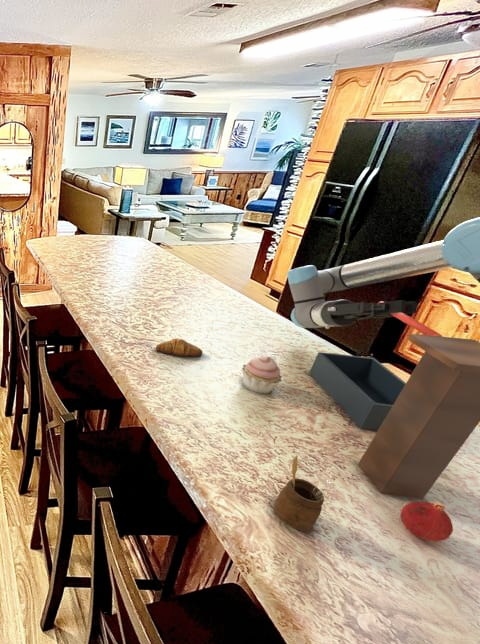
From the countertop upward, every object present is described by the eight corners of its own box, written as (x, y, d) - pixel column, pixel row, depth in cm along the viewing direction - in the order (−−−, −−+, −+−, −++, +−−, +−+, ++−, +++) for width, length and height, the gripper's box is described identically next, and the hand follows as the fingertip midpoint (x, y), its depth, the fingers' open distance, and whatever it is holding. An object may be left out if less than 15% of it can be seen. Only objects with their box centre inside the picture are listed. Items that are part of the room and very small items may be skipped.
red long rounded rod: (374, 305, 97) (377, 300, 96) (381, 306, 96) (384, 300, 96) (433, 341, 81) (437, 335, 80) (442, 342, 80) (446, 336, 80)
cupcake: (230, 385, 104) (241, 354, 100) (244, 373, 110) (255, 343, 105) (269, 403, 98) (282, 370, 93) (281, 389, 103) (295, 357, 99)
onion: (403, 544, 65) (427, 513, 61) (385, 515, 70) (406, 484, 66) (447, 556, 63) (474, 524, 60) (425, 525, 68) (449, 494, 65)
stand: (341, 455, 83) (409, 333, 69) (394, 462, 81) (474, 339, 68) (372, 495, 74) (458, 363, 60) (433, 504, 72) (534, 371, 59)
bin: (308, 374, 110) (318, 352, 106) (361, 380, 108) (373, 357, 104) (359, 429, 90) (374, 404, 86) (426, 438, 88) (444, 412, 84)
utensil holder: (304, 539, 65) (333, 490, 60) (264, 512, 70) (287, 464, 65) (317, 521, 69) (345, 473, 63) (278, 495, 73) (301, 449, 68)
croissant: (197, 350, 120) (201, 336, 118) (204, 362, 114) (208, 347, 112) (152, 345, 122) (156, 331, 120) (157, 357, 116) (160, 342, 114)
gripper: (362, 329, 110) (445, 326, 87) (306, 323, 112) (372, 319, 89) (364, 303, 110) (446, 293, 87) (308, 298, 112) (374, 287, 89)
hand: (409, 306), depth 88 cm, fingers closed on red long rounded rod, 1 cm apart
